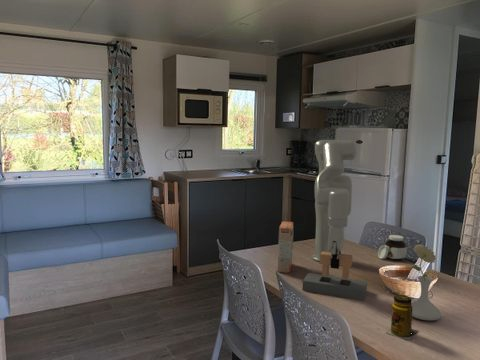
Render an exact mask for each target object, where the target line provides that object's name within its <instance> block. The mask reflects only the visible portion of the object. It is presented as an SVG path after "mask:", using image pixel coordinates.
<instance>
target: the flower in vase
mask: <svg viewBox="0 0 480 360" xmlns="http://www.w3.org/2000/svg"><path fill="white" fill-rule="evenodd" d="M413 251H414V252H415V254H416V255H417V257H418V258H420V262H419V266H418V265H416V264H414V265H412V267H411V268H412V269H414V270H416V271H417V272H420V273H421V274H422V275H420V276H417V279H418V281H419V283H420V297H419V298H418V299H416V300H414V301H411V304H412V305H411V306H412V318H416V319H418V320H423V321H436V320H439V319H440V318H441V317H442V313H441V311H440V309H439V308H438V307H437V306H436V305H435V304H434V303H432V302H431V301H430V299H429V289H430V286H431V283H432V282H433V281H434V278H432V277H431V276H427V275H429V274H431V273H432V272H433V270H428V271H426V272H424V273H423V270H422V267H421V266H422V262H423V261H424V262H425V263H427V264H433V263H436V260H437V259H436V255H435V252H434V251H433V250H432V249H430V248H429V247H428V246H427V245H425V246H424V244H416V245H414V249H413ZM425 275H426V276H425Z"/></svg>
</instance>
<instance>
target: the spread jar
mask: <svg viewBox="0 0 480 360" xmlns="http://www.w3.org/2000/svg"><path fill="white" fill-rule="evenodd" d="M404 238H405V237H404V236H402V235H399V234H389V235H388V239H387V240H386V241H385V244H384V245H380V247H379V248H378V250H377V257H378V258H379V259H380V260H384V259H387V260H389V261H393V262H394V261H395V262H401V261H404V259H406V257H407V253H408V252H407V249H408V248H407V243H406V242H405V240H404Z"/></svg>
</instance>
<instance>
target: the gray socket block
mask: <svg viewBox="0 0 480 360" xmlns="http://www.w3.org/2000/svg"><path fill="white" fill-rule="evenodd" d="M302 291H305V292H312V293H317V294H323V295H330V296H331V295H332V296H337V297H343V298H347V299H349V298H350V299H354V300H359V301H361V300H362V301H365V299H366V295H367V292H368V281H367V280H361V279H353V278H348V280H345V279H342V277H339V276H333V275H328V276H327V277H325V276H322V274H321V273H320V274H318V273H311V272H308V273H307V274H306V276H305V277H304V278H303V280H302Z"/></svg>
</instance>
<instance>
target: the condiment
mask: <svg viewBox="0 0 480 360" xmlns="http://www.w3.org/2000/svg"><path fill="white" fill-rule="evenodd" d="M412 302H413V301H412V298H411V297H410V296H409V295H407V294H395V295H394V297H393V303H392V304H391V321H390V322H391V323H390V324H391V325H390V326H391V327H390V329H389V330H390V331H389V330H387V332H386V334H389V335H391V336H394V337H397V338H400V339H405V340H407V341H410V340H411V339H412V338H413V337H414V336H415V334H416V333H418V329H415V328H412V324H413V322H412V321H413V316H412V306H411V305H412V304H411V303H412ZM389 332H391V333H389ZM411 333H412V334H411Z"/></svg>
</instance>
